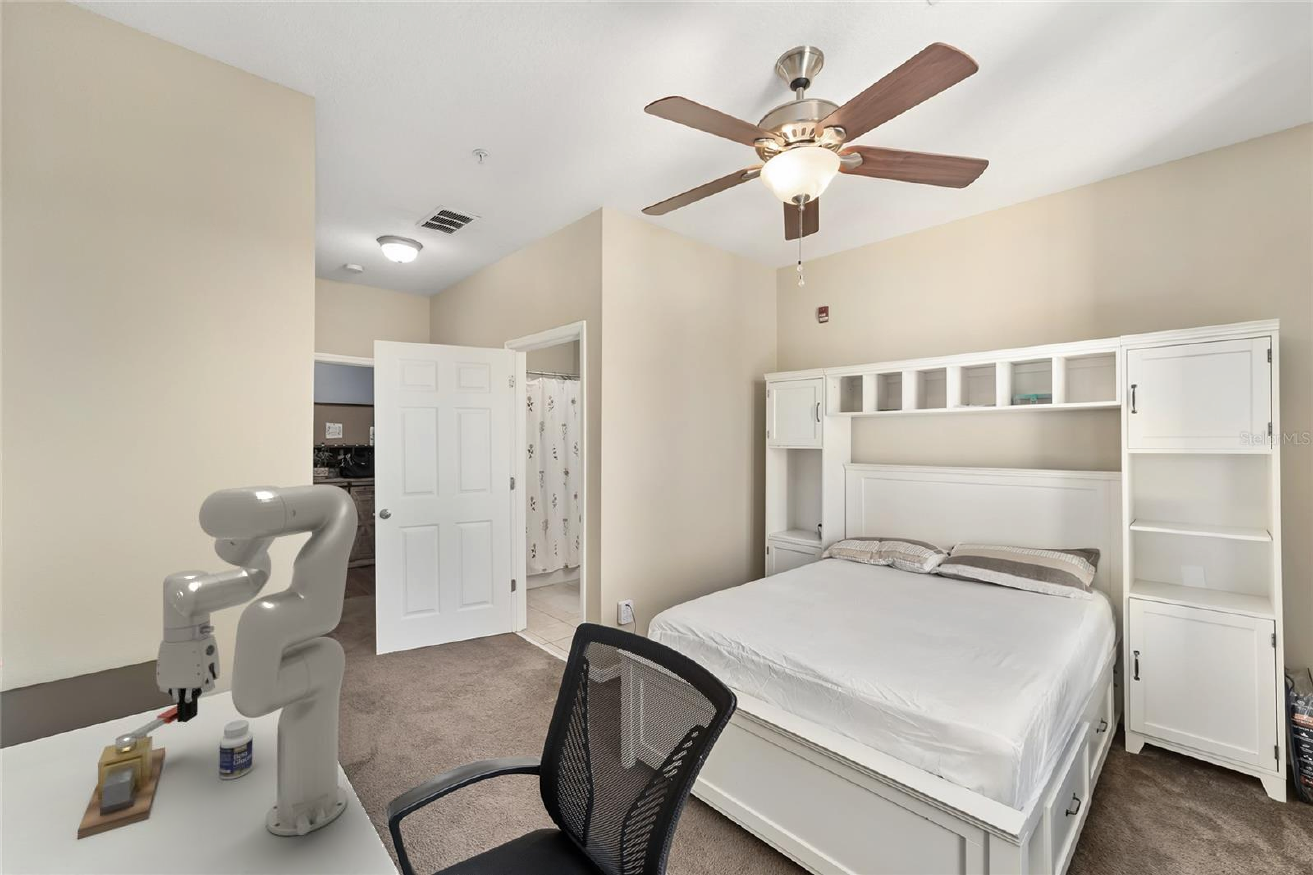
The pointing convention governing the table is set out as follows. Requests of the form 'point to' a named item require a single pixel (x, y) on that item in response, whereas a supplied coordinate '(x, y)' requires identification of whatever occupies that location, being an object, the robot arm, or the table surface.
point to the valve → (123, 775)
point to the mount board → (138, 812)
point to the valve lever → (144, 730)
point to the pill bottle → (235, 750)
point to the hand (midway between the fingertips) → (187, 718)
